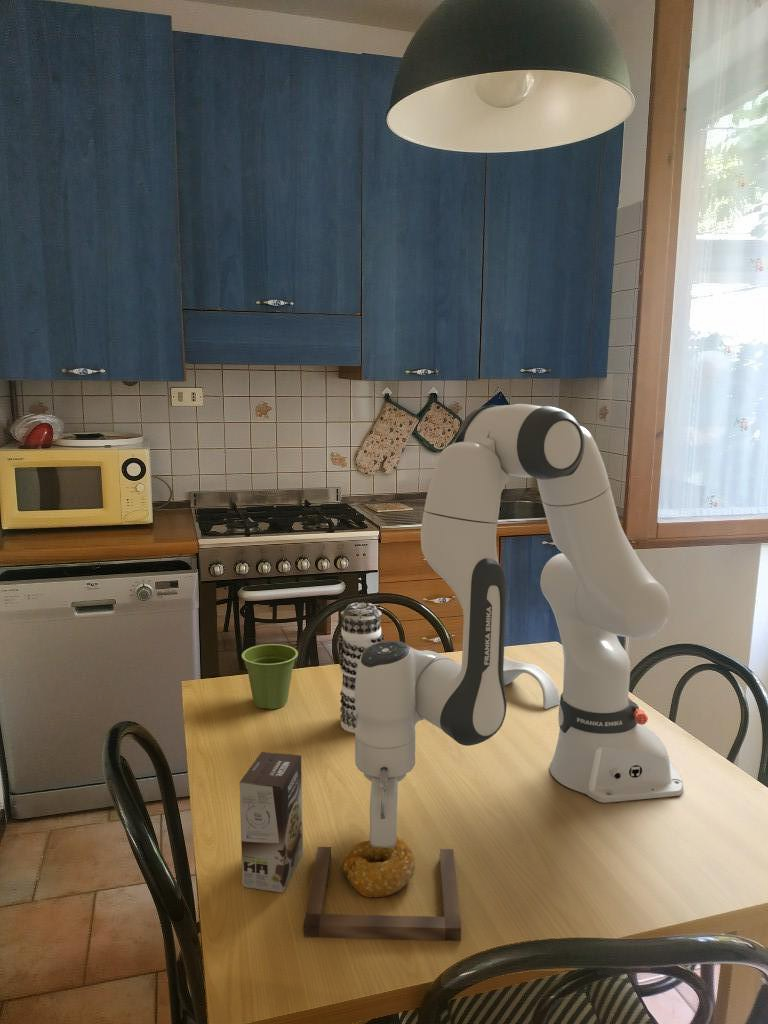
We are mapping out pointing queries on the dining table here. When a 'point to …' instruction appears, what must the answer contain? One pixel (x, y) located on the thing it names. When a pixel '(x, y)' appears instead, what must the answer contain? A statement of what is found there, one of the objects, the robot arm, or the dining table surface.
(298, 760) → the coffee box
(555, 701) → the spoon rest
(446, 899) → the brown u-shaped frame
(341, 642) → the decorative candle
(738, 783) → the dining table surface
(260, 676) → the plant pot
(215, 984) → the dining table surface
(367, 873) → the bagel
